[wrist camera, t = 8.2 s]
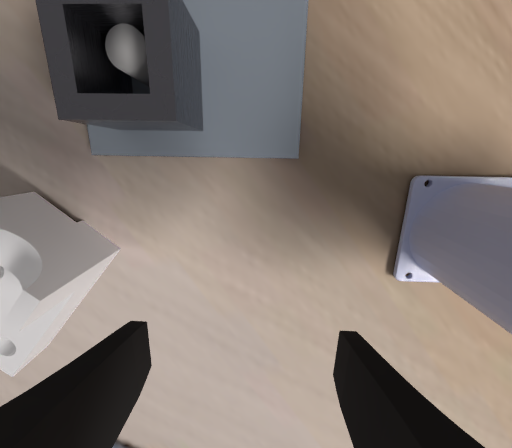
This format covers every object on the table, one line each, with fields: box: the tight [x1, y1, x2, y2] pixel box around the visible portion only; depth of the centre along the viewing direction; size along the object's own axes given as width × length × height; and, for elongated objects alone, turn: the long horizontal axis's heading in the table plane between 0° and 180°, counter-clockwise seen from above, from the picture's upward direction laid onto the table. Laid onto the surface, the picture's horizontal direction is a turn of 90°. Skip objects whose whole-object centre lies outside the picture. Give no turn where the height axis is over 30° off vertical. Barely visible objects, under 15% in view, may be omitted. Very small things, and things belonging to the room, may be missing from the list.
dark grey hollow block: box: [36, 0, 204, 131], centre depth 13 cm, size 6×6×5 cm
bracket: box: [0, 192, 121, 377], centre depth 17 cm, size 13×7×8 cm, turn 139°
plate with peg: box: [87, 0, 308, 159], centre depth 14 cm, size 14×10×4 cm
